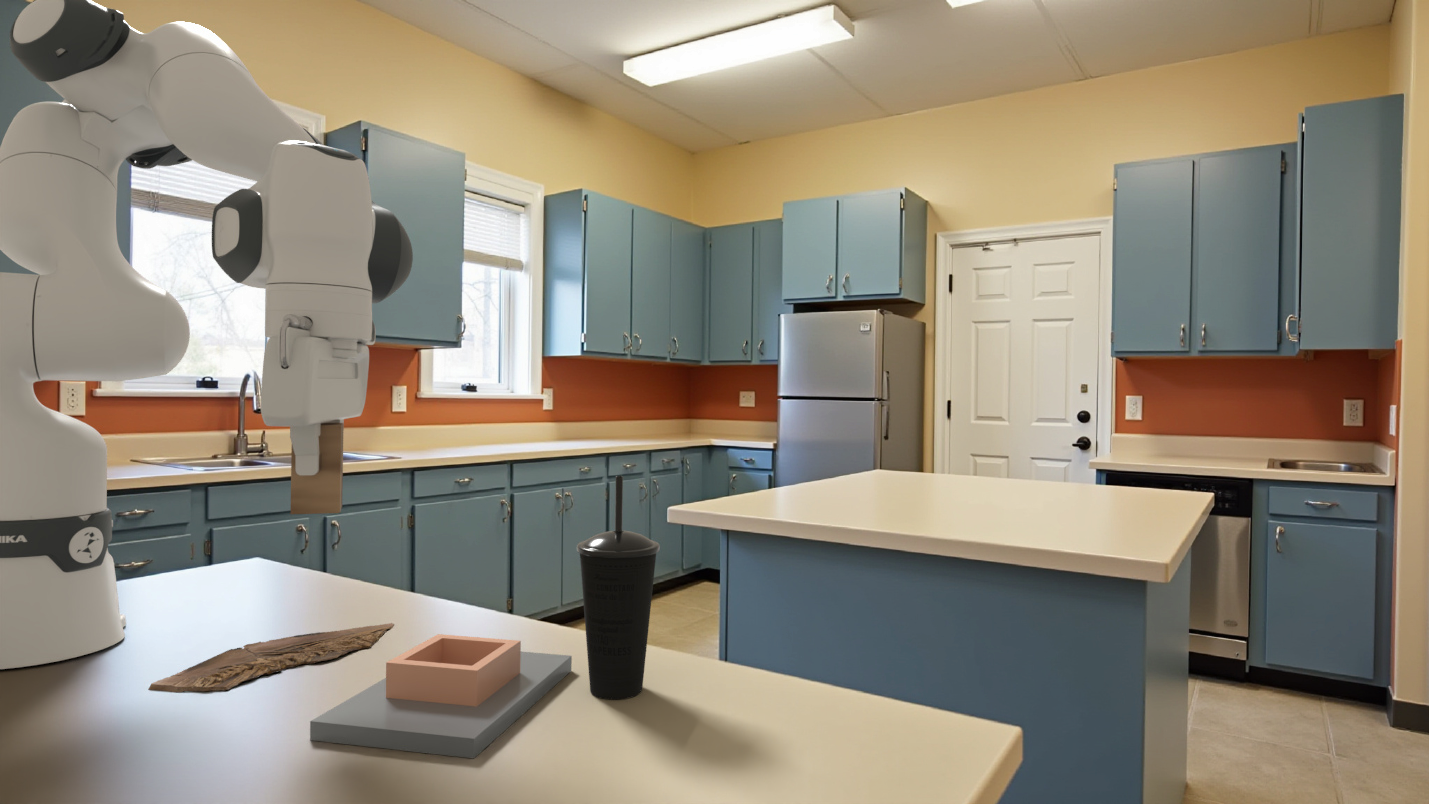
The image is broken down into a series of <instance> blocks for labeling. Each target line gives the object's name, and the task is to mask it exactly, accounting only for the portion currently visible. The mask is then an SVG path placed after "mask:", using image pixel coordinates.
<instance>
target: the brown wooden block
mask: <svg viewBox="0 0 1429 804" xmlns="http://www.w3.org/2000/svg"><path fill="white" fill-rule="evenodd" d="M344 431H345V423H321V427H320V436H318V437H319V453H320V454H322V463H321V465H322V470H321V471H320V472H319V473H317V474H315V475H298V474H297V473H296V455H295V453H294V449H293V446H292V445H291V457H290V458H291V462H290V464H291V465H290V515H315V514H318V515H319V514H340V513H341V512H342V508H343V488H344V487H343V484H344V483H343V482H344V481H343V477H344Z"/></svg>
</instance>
